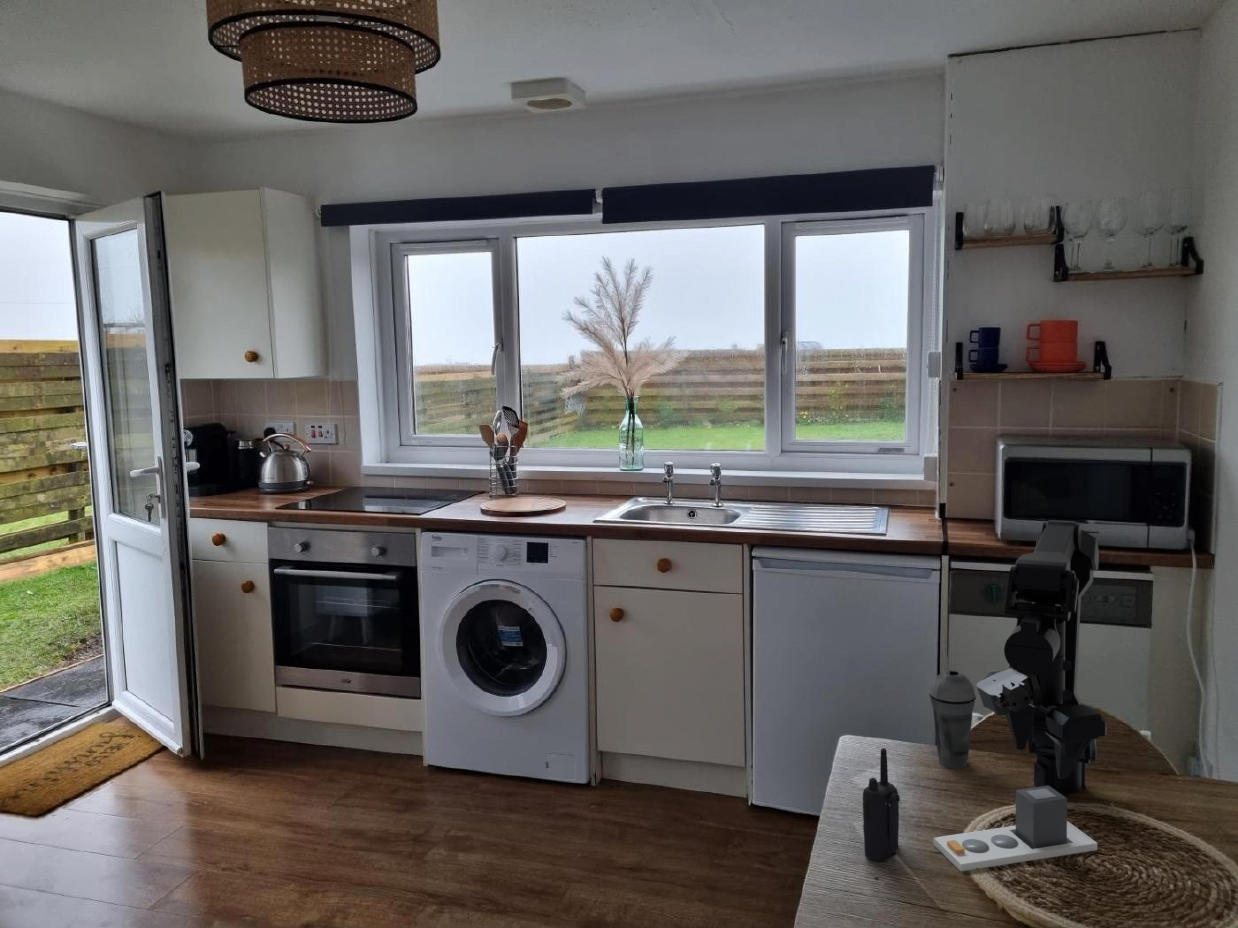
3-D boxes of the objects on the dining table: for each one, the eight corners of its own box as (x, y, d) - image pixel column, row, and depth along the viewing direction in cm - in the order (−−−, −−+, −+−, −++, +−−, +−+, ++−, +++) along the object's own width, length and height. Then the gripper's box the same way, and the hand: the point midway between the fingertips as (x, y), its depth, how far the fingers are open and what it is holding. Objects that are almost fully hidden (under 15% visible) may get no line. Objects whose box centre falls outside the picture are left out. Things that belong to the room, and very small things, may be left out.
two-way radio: (885, 843, 132) (883, 741, 130) (911, 856, 128) (909, 752, 126) (858, 856, 129) (856, 752, 127) (884, 870, 125) (882, 763, 123)
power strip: (1063, 831, 133) (1063, 814, 132) (1097, 856, 126) (1097, 838, 125) (933, 851, 129) (933, 833, 129) (960, 878, 122) (960, 859, 122)
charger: (1048, 832, 130) (1048, 784, 130) (1066, 847, 127) (1067, 797, 126) (1015, 837, 130) (1015, 789, 129) (1033, 852, 126) (1033, 802, 125)
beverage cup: (979, 772, 152) (979, 653, 149) (932, 770, 153) (931, 652, 151) (972, 753, 159) (971, 639, 157) (927, 751, 160) (926, 639, 158)
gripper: (949, 637, 133) (950, 742, 135) (1029, 681, 114) (1028, 802, 116) (1020, 630, 135) (1020, 733, 136) (1110, 671, 116) (1108, 790, 118)
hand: (1040, 763), depth 127 cm, fingers open, 9 cm apart
